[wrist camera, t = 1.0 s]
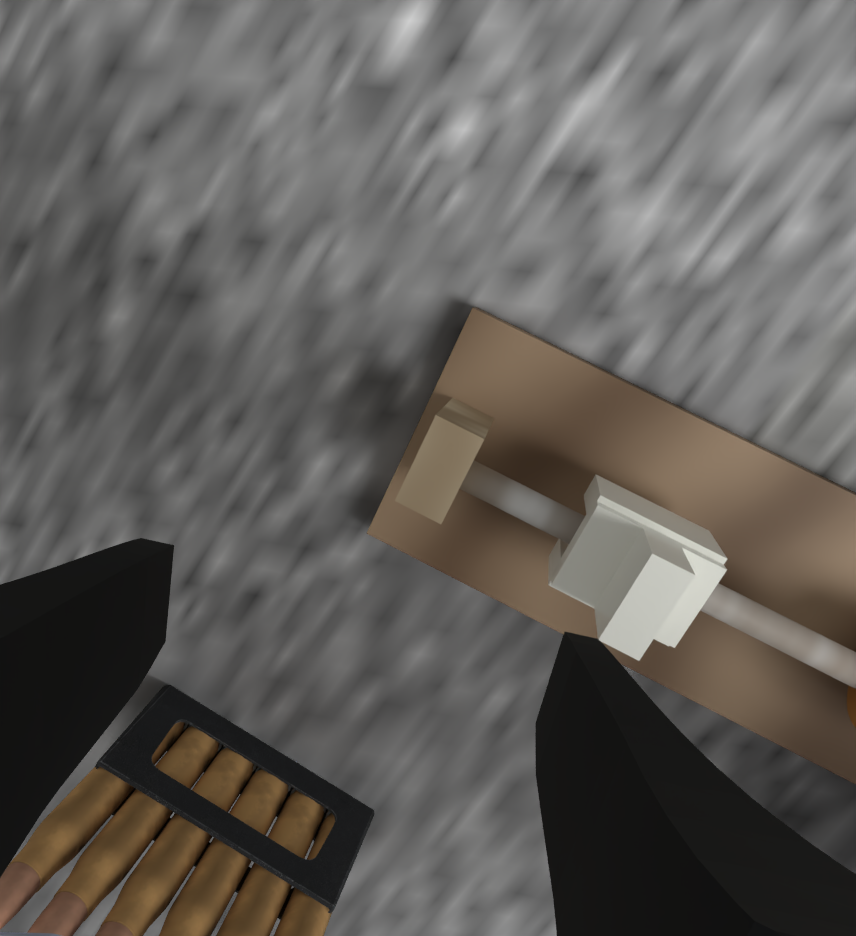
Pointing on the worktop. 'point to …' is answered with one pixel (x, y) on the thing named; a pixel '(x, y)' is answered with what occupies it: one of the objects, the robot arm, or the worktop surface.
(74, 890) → the ammunition clip
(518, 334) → the rail board
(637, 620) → the white slotted bracket
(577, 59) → the worktop surface
